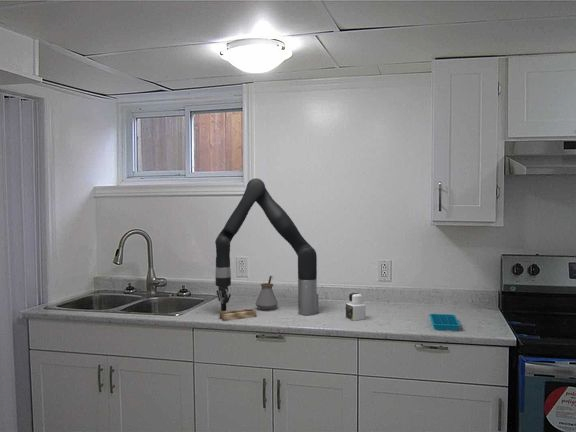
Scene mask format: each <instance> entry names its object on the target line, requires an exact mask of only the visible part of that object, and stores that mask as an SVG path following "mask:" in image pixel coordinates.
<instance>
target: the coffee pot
mask: <svg viewBox="0 0 576 432" xmlns="http://www.w3.org/2000/svg"><path fill="white" fill-rule="evenodd" d="M273 279H274V277H273V275H270V276H269V277H268V283H267V282H264V283H261V284H260V287H261V290H260V292H259V295H258V297H257V300H256V303H255V305H256V307H257V308H258V309H259V310H260V311H265V312H266V311H267V312H268V311H274V310H275V308H277V307H278V304H279V302H278V300H277V297H276V295H275V292H274V291H273V286H274V284H273V283H271V282H272V280H273Z"/></svg>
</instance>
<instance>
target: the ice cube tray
mask: <svg viewBox="0 0 576 432" xmlns="http://www.w3.org/2000/svg"><path fill="white" fill-rule="evenodd" d="M428 315H429V318H430V321H431V325H432V327H433V330H435V331H446V330H454V331H453V332H457V330H458V331H459V327H460V326H461V324H460V322H459V319H458V318H457V315H455V314H449V313H448V314H447V313H445V314H442V313H429V314H428Z"/></svg>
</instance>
